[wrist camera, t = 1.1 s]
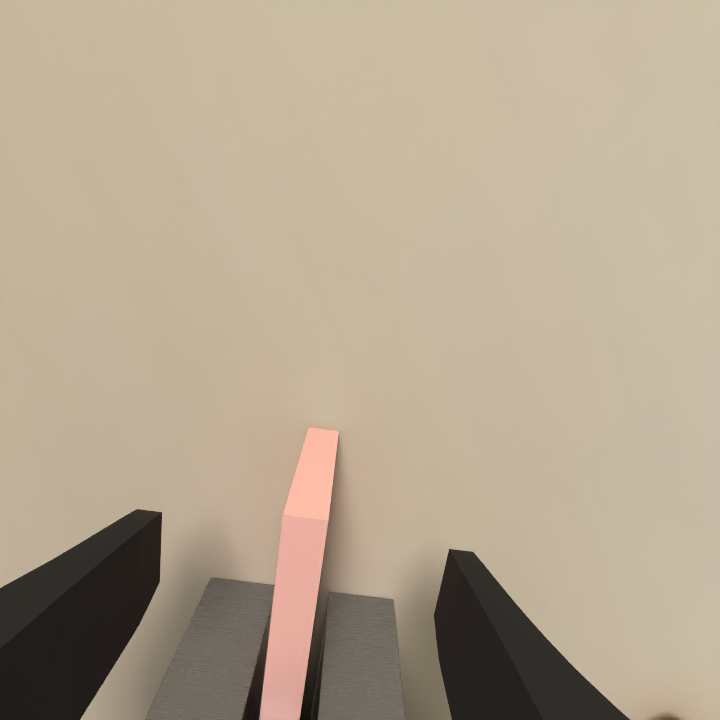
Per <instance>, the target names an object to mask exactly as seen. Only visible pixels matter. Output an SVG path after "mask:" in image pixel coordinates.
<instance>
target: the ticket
mask: <svg viewBox="0 0 720 720" xmlns="http://www.w3.org/2000/svg"><path fill="white" fill-rule="evenodd" d="M338 435H339V431H333V430H326V429H318V428H311V427H309V428H308V431H307V435H306V438H305V441H304V445H303V448H302V452H301V455H300V458H299V462H298V465H297V468H296V472H295V475H294V479H293V482H292V485H291V489H290V492H289V495H288V499H287V502H286V506H285V509H284V512H283V518H282V526H281V535H280V544H279V553H278V561H277V570H276V579H275V587H274V596H273V605H272V614H271V622H270V631H269V640H268V649H267V657H266V666H265V675H264V683H263V692H262V701H261V710H260V718H259V720H300V713H301V706H302V700H303V693H304V686H305V679H306V672H307V665H308V658H309V651H310V644H311V637H312V630H313V624H314V617H315V610H316V603H317V596H318V589H319V582H320V575H321V568H322V561H323V554H324V548H325V541H326V534H327V527H328V520H329V511H330V503H331V494H332V486H333V477H334V469H335V460H336V452H337V443H338Z"/></svg>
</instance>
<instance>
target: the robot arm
mask: <svg viewBox="0 0 720 720" xmlns="http://www.w3.org/2000/svg"><path fill="white" fill-rule="evenodd" d="M161 526H162V512H155V511H147V510H139V509H137V510H135V511H133V512H131V513H130V514H128V515H126V516H124V517H123V518H121V519H119V520H118V521H116V522H114V523H113V524H111V525H109V526H108V527H106V528H104V529H103V530H101V531H100V532H98V533H96V534H95V535H93V536H91V537H90V538H88V539H86V540H85V541H83V542H81V543H80V544H78V545H76V546H75V547H73V548H71V549H69V550H68V551H66V552H64V553H63V554H61V555H59V556H58V557H56V558H54V559H53V560H51V561H49V562H47V563H45V564H44V565H42V566H40V567H38V568H36V569H34V570H33V571H31V572H29V573H27V574H25V575H23V576H22V577H20V578H18V579H16V580H14V581H13V582H11V583H9V584H7V585H5V586H3V587H2V588H0V720H80V719H81V717H82V716H83V714H84V712H85V711H86V709H87V708H88V706H89V704H90V703H91V701H92V700H93V698H94V696H95V695H96V693H97V692H98V690H99V688H100V687H101V685H102V684H103V682H104V680H105V679H106V677H107V676H108V674H109V673H110V671H111V669H112V668H113V666H114V665H115V663H116V661H117V660H118V658H119V657H120V655H121V653H122V652H123V650H124V648H125V647H126V645H127V644H128V642H129V640H130V639H131V637H132V636H133V634H134V632H135V631H136V629H137V627H138V626H139V624H140V622H141V620H142V618H143V616H144V614H145V612H146V610H147V608H148V606H149V604H150V601H151V599H152V597H153V595H154V593H155V591H156V589H157V586H158V584H159V582H160V556H161ZM434 619H435V629H436V639H437V647H438V655H439V662H440V667H441V672H442V676H443V681H444V685H445V690H446V694H447V699H448V703H449V708H450V712H451V717H452V720H630V719H629V718H628V717H626V716H625V715H624V714H623V713H622V712H621V711H620V710H618V709H617V708H616V707H615V706H614V705H613V704H612V703H611V702H610V701H609V700H608V699H607V698H606V697H604V696H603V695H602V694H601V693H600V692H599V691H598V690H597V689H596V688H595V687H594V686H593V685H592V684H591V683H590V682H589V681H587V680H586V679H585V678H584V677H583V676H582V675H581V674H580V673H579V672H578V671H577V670H576V669H575V668H574V667H573V666H572V665H571V664H570V663H569V662H568V661H567V660H566V659H565V657H564V656H563V655H562V654H561V653H560V652H559V651H558V650H557V649H556V648H555V647H554V646H553V645H552V644H551V643H550V642H549V641H548V640H547V638H546V637H545V636H544V635H543V634H542V633H541V632H540V631H539V630H538V629H537V627H536V626H535V625H534V624H533V623H532V622H531V621H530V620H529V618H528V617H527V616H526V615H525V614H524V613H523V611H522V610H521V609H520V608H519V607H518V606H517V604H516V603H515V602H514V601H513V600H512V598H511V597H510V596H509V595H508V594H507V592H506V591H505V590H504V589H503V588H502V586H501V585H500V584H499V583H498V582H497V580H496V579H495V578H494V577H493V575H492V574H491V573H490V572H489V570H488V569H487V568H486V567H485V566H484V564H483V563H482V562H481V561H480V560H479V558H478V557H477V556H476V555H475V554H474V552H469V551H461V550H453V549H449V553H448V557H447V561H446V566H445V570H444V574H443V579H442V583H441V587H440V592H439V596H438V601H437V605H436V609H435V614H434Z"/></svg>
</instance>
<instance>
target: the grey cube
mask: <svg viewBox="0 0 720 720" xmlns="http://www.w3.org/2000/svg"><path fill="white" fill-rule="evenodd" d="M274 587H275V585H267V584H259V583H250V582H242V581H234V580H225V579H217V578H210V580H209V582H208V584H207V587H206V589H205V591H204V593H203V595H202V597H201V600H200V602H199V604H198V606H197V608H196V610H195V613H194V615H193V617H192V619H191V621H190V623H189V626H188V628H187V630H186V632H185V634H184V636H183V638H182V641H181V643H180V645H179V647H178V649H177V651H176V654H175V656H174V658H173V660H172V662H171V664H170V667H169V669H168V671H167V673H166V675H165V677H164V680H163V682H162V684H161V686H160V688H159V690H158V693H157V695H156V697H155V699H154V701H153V703H152V706H151V708H150V710H149V712H148V714H147V716H146V719H145V720H259V718H260V710H261V701H262V692H263V683H264V675H265V666H266V657H267V649H268V640H269V631H270V622H271V614H272V605H273V596H274ZM310 720H405V715H404V704H403V694H402V684H401V674H400V663H399V653H398V643H397V633H396V623H395V612H394V602H393V600H391V599H383V598H375V597H366V596H358V595H350V594H342V593H333V592H329V598H328V605H327V611H326V618H325V624H324V631H323V638H322V644H321V651H320V657H319V664H318V670H317V677H316V683H315V690H314V697H313V703H312V710H311V716H310Z"/></svg>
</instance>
